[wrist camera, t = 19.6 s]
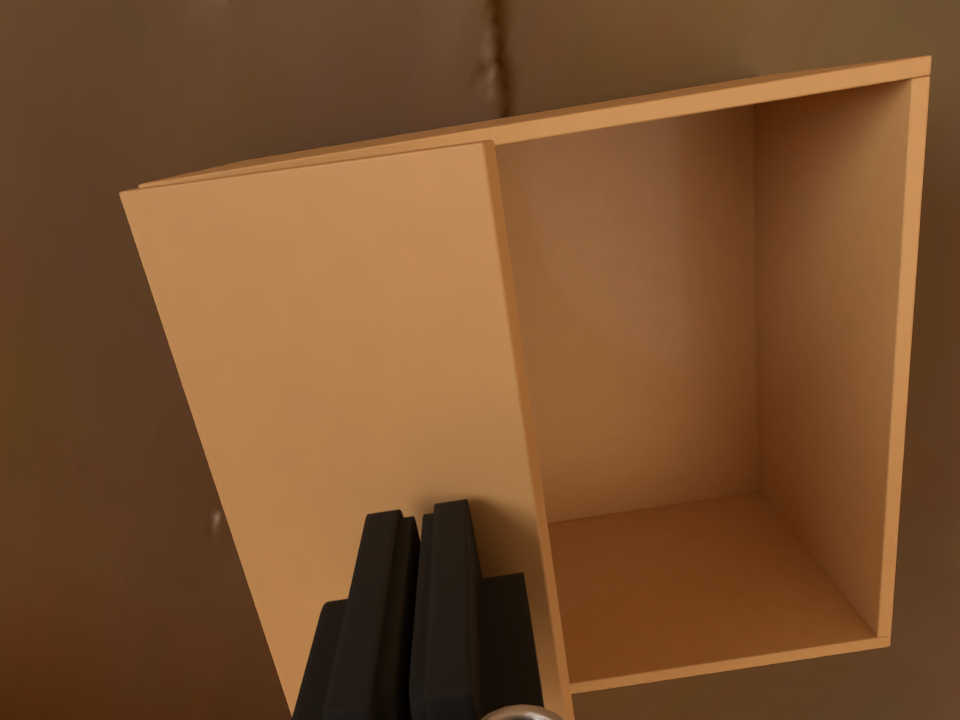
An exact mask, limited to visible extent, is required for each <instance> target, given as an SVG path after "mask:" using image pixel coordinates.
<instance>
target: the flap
mask: <svg viewBox="0 0 960 720" xmlns="http://www.w3.org/2000/svg"><path fill="white" fill-rule="evenodd" d="M119 194H120V198H121V201H122V204H123V207H124V210H125V213H126V216H127V219H128V222H129V225H130V228H131V231H132V234H133V237H134V240H135V243H136V246H137V249H138V252H139V255H140V258H141V261H142V264H143V267H144V270H145V273H146V276H147V279H148V282H149V285H150V288H151V291H152V294H153V297H154V300H155V303H156V306H157V310H158V313H159V316H160V319H161V322H162V325H163V328H164V331H165V334H166V337H167V340H168V343H169V346H170V349H171V352H172V355H173V358H174V361H175V364H176V367H177V370H178V373H179V376H180V379H181V382H182V385H183V388H184V391H185V394H186V397H187V400H188V403H189V406H190V409H191V412H192V415H193V419H194V422H195V425H196V428H197V431H198V434H199V437H200V440H201V443H202V446H203V449H204V452H205V455H206V458H207V461H208V464H209V467H210V470H211V473H212V476H213V479H214V482H215V485H216V488H217V491H218V494H219V497H220V500H221V503H222V506H223V509H224V512H225V515H226V518H227V521H228V524H229V527H230V531H231V534H232V537H233V540H234V543H235V546H236V549H237V552H238V555H239V558H240V561H241V564H242V567H243V570H244V573H245V576H246V579H247V582H248V585H249V588H250V591H251V594H252V597H253V600H254V603H255V606H256V609H257V612H258V615H259V618H260V621H261V624H262V627H263V630H264V633H265V636H266V640H267V643H268V646H269V649H270V652H271V655H272V658H273V661H274V664H275V667H276V670H277V673H278V676H279V679H280V682H281V685H282V688H283V691H284V694H285V697H286V700H287V703H288V706H289V709H290V712H291V715H292V716H293V712H294V709H295V705H296V701H297V698H298V694H299V690H300V686H301V683H302V679H303V675H304V672H305V668H306V664H307V661H308V657H309V653H310V649H311V646H312V642H313V638H314V635H315V631H316V627H317V624H318V620H319V616H320V613H321V610H322V607H323V605H324V604H325V603H326V602H328V601H335V600H342V599H348V595H349V591H350V586H351V582H352V577H353V573H354V568H355V564H356V559H357V555H358V550H359V546H360V541H361V537H362V532H363V528H364V523H365V519H366V516H367V515H368V514H372V513H378V512H385V511H391V510H398V509H400V510H401V511H402V514H403V517H410V516H414V517H415V520H416V524H417V528H418V533H419V537H420V542H421V531H422V519H423V515H424V514H430V513H434V505H435V504H437V503H443V502H450V501H457V500H463V499H467V500H468V504H469V508H470V513H471V519H472V524H473V529H474V535H475V540H476V545H477V551H478V556H479V562H480V567H481V572H482V578H488V577H495V576H501V575H508V574H514V573H521V572H524V577H525V583H526V589H527V596H528V602H529V608H530V614H531V621H532V627H533V633H534V640H535V646H536V653H537V660H538V666H539V673H540V680H541V686H542V693H543V700H544V706H545V709H548V710H550V711H552V712H555V713H557V714H558V715H559V716H560V717H561V718H562V719H564V720H575V718H574V711H573V704H572V697H571V690H570V683H569V675H568V668H567V661H566V654H565V647H564V640H563V632H562V625H561V618H560V611H559V604H558V597H557V589H556V582H555V575H554V568H553V561H552V553H551V546H550V539H549V532H548V525H547V518H546V510H545V503H544V496H543V489H542V482H541V475H540V467H539V460H538V453H537V446H536V439H535V432H534V424H533V417H532V410H531V403H530V396H529V389H528V381H527V374H526V367H525V360H524V353H523V346H522V338H521V331H520V324H519V317H518V310H517V303H516V295H515V288H514V281H513V274H512V267H511V260H510V252H509V245H508V238H507V231H506V224H505V217H504V209H503V202H502V195H501V188H500V181H499V174H498V166H497V159H496V152H495V145H494V141H493V140H483V141H476V142H469V143H462V144H455V145H447V146H440V147H433V148H426V149H419V150H411V151H404V152H397V153H390V154H382V155H375V156H368V157H361V158H354V159H346V160H339V161H332V162H325V163H318V164H310V165H303V166H296V167H289V168H281V169H274V170H267V171H260V172H253V173H245V174H238V175H231V176H224V177H217V178H209V179H202V180H195V181H188V182H181V183H173V184H166V185H159V186H152V187H144V188H137V189H131V190H126V191H121V192H120V193H119Z"/></svg>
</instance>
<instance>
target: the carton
mask: <svg viewBox="0 0 960 720" xmlns="http://www.w3.org/2000/svg"><path fill="white" fill-rule="evenodd" d="M931 58H932V57H931V56H930V55H927V56H919V57H911V58H903V59H895V60H887V61H878V62H870V63H862V64H854V65H846V66H838V67H829V68H821V69H813V70H805V71H797V72H789V73H781V74H772V75H764V76H757V77H751V78H745V79H738V80H732V81H726V82H720V83H714V84H708V85H702V86H696V87H689V88H683V89H677V90H671V91H665V92H659V93H653V94H647V95H641V96H634V97H628V98H622V99H616V100H610V101H604V102H598V103H592V104H585V105H579V106H573V107H567V108H561V109H555V110H549V111H543V112H537V113H530V114H524V115H518V116H512V117H506V118H500V119H494V120H488V121H481V122H475V123H469V124H463V125H457V126H451V127H445V128H439V129H433V130H426V131H420V132H414V133H408V134H402V135H396V136H390V137H384V138H377V139H371V140H365V141H359V142H353V143H347V144H341V145H335V146H328V147H322V148H316V149H310V150H304V151H298V152H292V153H286V154H280V155H273V156H267V157H261V158H255V159H249V160H245V161H240V162H236V163H232V164H227V165H223V166H218V167H214V168H209V169H205V170H200V171H196V172H192V173H187V174H183V175H178V176H174V177H169V178H165V179H161V180H156V181H152V182H147V183H143V184H140V185H139V188H144V187H152V186H159V185H166V184H173V183H181V182H188V181H195V180H202V179H209V178H217V177H224V176H231V175H238V174H245V173H253V172H260V171H267V170H274V169H281V168H289V167H296V166H303V165H310V164H318V163H325V162H332V161H339V160H346V159H354V158H361V157H368V156H375V155H382V154H390V153H397V152H404V151H411V150H419V149H426V148H433V147H440V146H447V145H455V144H462V143H469V142H476V141H483V140H493V141H494V145H495V152H496V159H497V166H498V174H499V181H500V188H501V195H502V202H503V209H504V217H505V224H506V231H507V238H508V245H509V252H510V260H511V267H512V274H513V281H514V288H515V295H516V303H517V310H518V317H519V324H520V331H521V338H522V346H523V353H524V360H525V367H526V374H527V381H528V389H529V396H530V403H531V410H532V417H533V424H534V432H535V439H536V446H537V453H538V460H539V467H540V475H541V482H542V489H543V496H544V503H545V510H546V518H547V525H548V532H549V539H550V546H551V553H552V561H553V568H554V575H555V582H556V589H557V597H558V604H559V611H560V618H561V625H562V632H563V640H564V647H565V654H566V661H567V668H568V675H569V683H570V690H571V694H575V693H581V692H588V691H595V690H602V689H608V688H615V687H622V686H628V685H635V684H642V683H648V682H655V681H662V680H668V679H675V678H682V677H688V676H695V675H702V674H708V673H715V672H722V671H729V670H735V669H742V668H749V667H755V666H762V665H769V664H775V663H782V662H789V661H795V660H802V659H809V658H815V657H822V656H829V655H835V654H842V653H849V652H856V651H862V650H869V649H876V648H882V647H889V646H890V639H891V636H890V635H891V625H892V611H893V597H894V583H895V568H896V554H897V540H898V526H899V512H900V498H901V483H902V469H903V455H904V441H905V427H906V413H907V398H908V384H909V370H910V356H911V342H912V328H913V313H914V299H915V285H916V271H917V257H918V243H919V228H920V214H921V200H922V186H923V172H924V158H925V143H926V129H927V115H928V101H929V87H930V77H929V76H928V75H930V73H931Z"/></svg>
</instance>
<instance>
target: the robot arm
mask: <svg viewBox="0 0 960 720" xmlns="http://www.w3.org/2000/svg"><path fill="white" fill-rule="evenodd" d="M292 720H564V719H562V718H561V717H560V716H559V715H558V714H557V713H555V712H552V711H550V710H548V709H545V706H544V700H543V693H542V686H541V680H540V673H539V666H538V660H537V653H536V646H535V640H534V633H533V627H532V621H531V614H530V608H529V602H528V596H527V589H526V583H525V577H524V572H521V573H514V574H508V575H501V576H495V577H488V578H482V572H481V567H480V562H479V556H478V551H477V545H476V540H475V535H474V529H473V524H472V519H471V513H470V508H469V504H468V500H467V499H463V500H457V501H450V502H443V503H437V504H435V505H434V513H430V514H424V515H423V519H422V531H421V542H420V537H419V533H418V528H417V524H416V520H415V517H414V516H410V517H403V514H402V511H401V510H400V509H398V510H391V511H385V512H378V513H372V514H368V515H367V516H366V519H365V523H364V528H363V532H362V537H361V541H360V546H359V550H358V555H357V559H356V564H355V568H354V573H353V577H352V582H351V586H350V591H349V595H348V599H342V600H335V601H328V602H326V603H325V604H324V605H323V607H322V610H321V613H320V616H319V620H318V624H317V627H316V631H315V635H314V638H313V642H312V646H311V649H310V653H309V657H308V661H307V664H306V668H305V672H304V675H303V679H302V683H301V686H300V690H299V694H298V698H297V701H296V705H295V709H294V712H293V716H292Z"/></svg>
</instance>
